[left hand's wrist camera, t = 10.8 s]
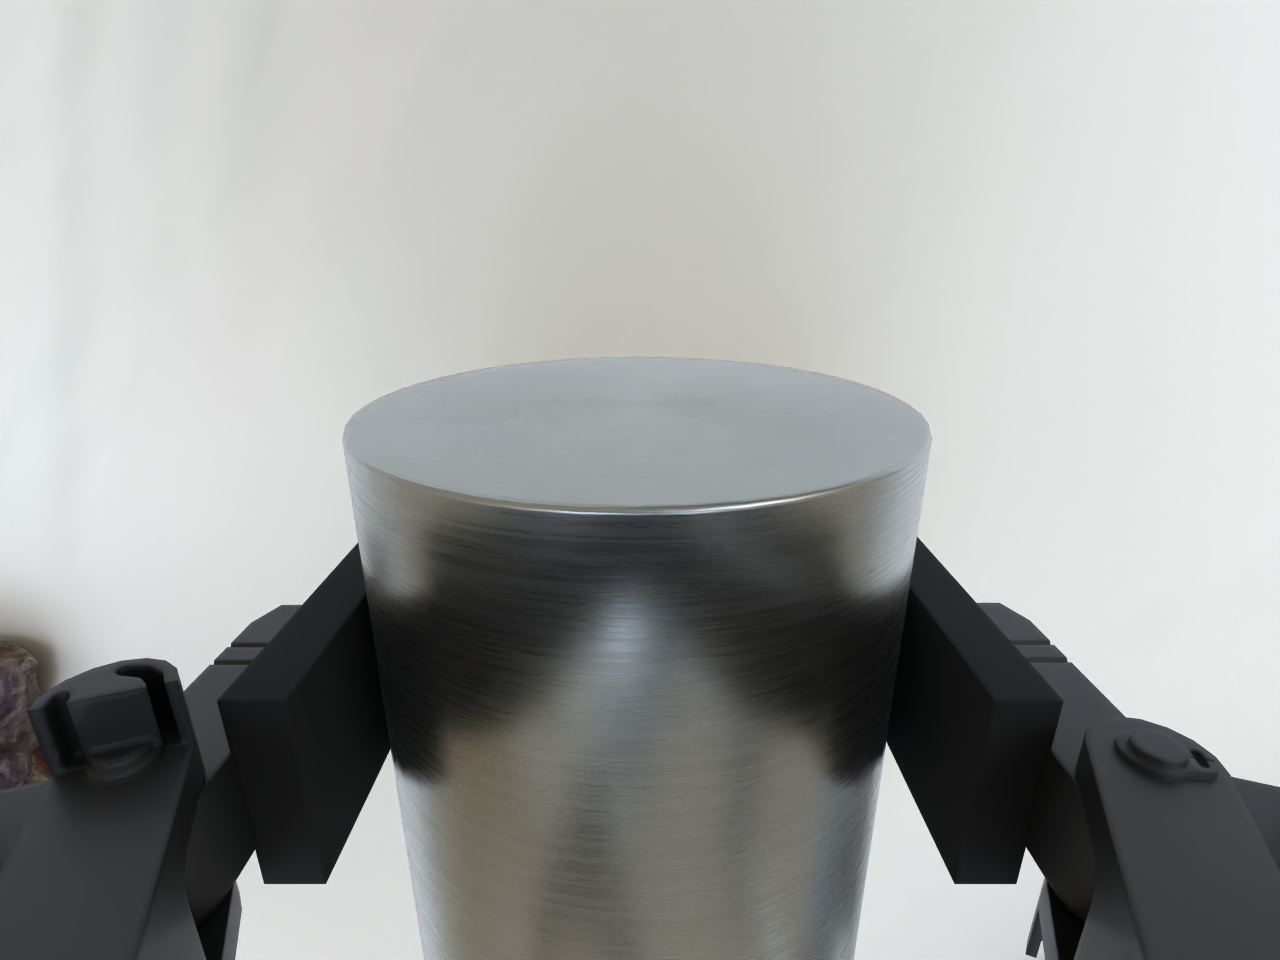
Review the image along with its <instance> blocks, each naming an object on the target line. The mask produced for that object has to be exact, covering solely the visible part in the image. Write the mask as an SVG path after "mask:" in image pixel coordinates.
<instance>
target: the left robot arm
mask: <svg viewBox="0 0 1280 960" xmlns="http://www.w3.org/2000/svg"><path fill="white" fill-rule="evenodd" d="M27 714H28V716H29V719H30V722H31V724H32V727H33V730H34V732H35V735H36V738H37V740H38V743H39V745H40V748H41V751H42V753H43V756H44V759H45V761H46V764H47V767H48V769H49V772H50V777H49V779H48V780H47V781H42V782H38V783H33V784H28V785H24V786H19V787H14V788H10V789H5V790H0V960H235V955H236V948H237V941H238V933H239V926H240V919H241V911H242V907H241V900H240V893H239V890H238V886H237V882H236V879H237V878H238V876H239V875H240V873H241V871H242V870H243V868H244V866H245V865H246V863H247V862H248V860H249V858H250V857H251V855H252V854H253V852H254V850H256V854H257V858H258V862H259V865H260V869H261V873H262V877H263V881H264V884H326V883H327V880H328V878H329V876H330V874H331V872H332V870H333V868H334V866H335V864H336V862H337V860H338V857H339V855H340V853H341V851H342V849H343V847H344V845H345V843H346V841H347V839H348V837H349V834H350V832H351V830H352V828H353V826H354V824H355V822H356V820H357V818H358V816H359V814H360V811H361V809H362V807H363V805H364V803H365V801H366V799H367V797H368V795H369V793H370V791H371V788H372V786H373V784H374V782H375V780H376V778H377V776H378V774H379V772H380V770H381V768H382V765H383V763H384V761H385V759H386V757H387V755H388V753H389V751H390V749H391V746H390V740H389V733H388V727H387V721H386V714H385V708H384V702H383V695H382V689H381V683H380V676H379V670H378V664H377V657H376V651H375V645H374V638H373V632H372V626H371V619H370V613H369V606H368V600H367V594H366V587H365V581H364V575H363V568H362V562H361V556H360V549H359V543H357V544H356V546H355V547H354V548H353V549H352V550H351V551H350V552H349V553H348V555H347V556H346V557H345V558H344V559H343V560H342V561H341V562H340V563H339V565H338V566H337V567H336V568H335V569H334V570H333V571H332V572H331V574H330V575H329V576H328V577H327V578H326V579H325V580H324V581H323V582H322V584H321V585H320V586H319V587H318V588H317V589H316V590H315V591H314V593H313V594H312V595H311V596H310V597H309V598H308V599H307V600H306V601H305V603H304V604H303V605H281V606H279V607H278V608H276V609H274V610H272V611H271V612H269V613H267V614H266V615H264V616H262V617H260V618H259V619H257V620H255V621H254V622H252V623H251V624H250V625H249V626H248V627H247V628H246V629H245V630H244V631H243V632H242V633H241V634H240V635H239V636H238V637H237V638H236V639H235V640H234V641H233V642H232V643H231V647H227V648H226V649H225V650H224V651H223V652H222V653H221V654H220V655H219V656H218V657H217V658H216V659H215V660H214V665H209V666H208V667H207V668H206V669H205V670H204V671H203V672H202V673H201V675H200V676H199V677H198V678H197V679H196V680H195V681H194V682H193V683H192V684H191V685H190V686H189V687H188V688H187V689H186V690H185V691H184V692H183V688H182V685H181V681H180V678H179V674H178V670H177V668H176V667H174V666H173V665H171V664H170V663H169V662H167V661H164V660H157V659H149V658H143V659H134V660H124V661H119V662H115V663H112V664H108V665H104V666H100V667H97V668H93V669H91V670H88V671H86V672H84V673H81V674H79V675H77V676H74V677H72V678H70V679H67V680H65V681H64V682H62V683H60V684H59V685H57V686H56V687H54V688H53V689H51V690H49V691H48V692H46V693H45V694H43V695H42V696H41V697H40V698H39V699H38V700H37V701H36V702H35V703H34V704H33V705H32V706H31V707H30V708H29V709H28V710H27ZM886 741H887V744H888V746H889V748H890V750H891V752H892V754H893V756H894V758H895V760H896V762H897V764H898V767H899V769H900V771H901V773H902V775H903V777H904V779H905V781H906V783H907V785H908V787H909V790H910V792H911V794H912V796H913V798H914V800H915V802H916V804H917V806H918V808H919V810H920V813H921V815H922V817H923V819H924V821H925V823H926V825H927V827H928V829H929V831H930V833H931V836H932V838H933V840H934V842H935V844H936V846H937V848H938V850H939V852H940V854H941V856H942V859H943V861H944V863H945V865H946V867H947V869H948V871H949V873H950V875H951V877H952V879H953V882H954V884H1016V883H1017V879H1018V875H1019V871H1020V868H1021V864H1022V860H1023V856H1024V852H1025V848H1026V847H1027V849H1028V851H1029V852H1030V854H1031V855H1032V857H1033V859H1034V860H1035V862H1036V864H1037V865H1038V867H1039V868H1040V870H1041V872H1042V873H1043V875H1044V876H1045V879H1044V882H1043V886H1042V890H1041V893H1040V897H1039V900H1038V904H1037V908H1036V911H1035V915H1034V918H1033V922H1032V926H1031V929H1030V933H1029V936H1028V941H1027V948H1026V955H1029V956H1032V957H1035V958H1036V957H1037V953H1038V950H1039V946H1040V943H1041V941H1042V940H1043V946H1044V953H1045V960H1280V787H1276V786H1272V785H1267V784H1262V783H1258V782H1253V781H1248V780H1243V779H1239V778H1234V777H1231V776H1230V774H1229V773H1228V772H1227V770H1226V769H1225V768H1224V767H1223V765H1222V764H1221V763H1220V762H1219V760H1218V759H1217V758H1216V757H1215V756H1214V755H1212V754H1211V753H1210V752H1208V751H1207V750H1206V749H1204V748H1203V747H1202V746H1200V745H1199V744H1198V743H1196V742H1195V741H1193V740H1191V739H1189V738H1187V737H1185V736H1183V735H1181V734H1179V733H1177V732H1175V731H1173V730H1171V729H1169V728H1167V727H1164V726H1161V725H1157V724H1154V723H1151V722H1148V721H1144V720H1141V719H1134V718H1126V717H1125V716H1124V715H1123V714H1122V713H1121V712H1120V711H1119V710H1118V709H1117V708H1116V707H1115V706H1114V705H1113V704H1112V703H1111V702H1110V701H1109V700H1108V699H1107V698H1106V697H1105V696H1104V695H1103V694H1102V693H1101V692H1100V691H1099V690H1098V689H1097V688H1096V687H1095V686H1094V685H1093V684H1092V683H1091V682H1090V681H1089V680H1088V679H1087V678H1086V677H1085V676H1084V675H1083V674H1082V673H1081V672H1080V671H1079V670H1078V669H1077V668H1076V667H1075V666H1074V665H1073V664H1072V663H1068V662H1067V658H1066V657H1065V656H1064V655H1063V654H1062V653H1061V652H1060V651H1059V650H1058V648H1057V647H1056V646H1055V645H1050V640H1049V639H1048V638H1047V637H1046V636H1045V635H1044V634H1043V633H1042V632H1041V631H1040V630H1039V629H1038V628H1037V627H1036V626H1035V625H1034V624H1033V623H1032V622H1031V621H1030V620H1028V619H1026V618H1025V617H1023V616H1021V615H1019V614H1018V613H1016V612H1014V611H1012V610H1011V609H1009V608H1007V607H1006V606H1004V605H1002V604H1000V603H976V602H975V601H974V600H973V599H972V598H971V596H970V595H969V594H968V593H967V592H966V591H965V590H964V589H963V587H962V586H961V585H960V584H959V583H958V582H957V581H956V580H955V579H954V577H953V576H952V575H951V574H950V573H949V572H948V571H947V570H946V568H945V567H944V566H943V565H942V564H941V563H940V562H939V561H938V560H937V558H936V557H935V556H934V555H933V554H932V553H931V552H930V551H929V549H928V548H927V547H926V546H925V545H924V544H923V543H922V542H921V541H920V539H919V538H918V537H917V539H916V546H915V553H914V559H913V566H912V573H911V579H910V586H909V593H908V599H907V606H906V613H905V619H904V626H903V633H902V639H901V646H900V653H899V659H898V666H897V673H896V679H895V686H894V693H893V699H892V706H891V713H890V719H889V726H888V733H887V739H886Z"/></svg>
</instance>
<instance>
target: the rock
mask: <svg viewBox="0 0 1280 960" xmlns="http://www.w3.org/2000/svg"><path fill="white" fill-rule="evenodd" d="M38 668H39V665H38V663H37V660H36V658H35V657H34V656H33V655H32V654H31V652H30V651H28V650H26V649H23V648H21V647H20V646H19V645H18V644H16V643H11V642H6V641H0V790H5V789H10V788H14V787H19V786H24V785H28V784H33V783H38V782H42V781H47V780H48V779H49V777H50V772H49V769H48V767H47V764H46V761H45V759H44V756H43V753H42V751H41V750H39V749H38V748H39V746H40V745H39V743H38V740H37V738H36V735H35V732H34V730H33V727H32V724H31V722H30V719H29V716H28V714H27V710H28V709H29V708H30V707H31V706H32V705H33V704H34V703H35V702H36V701H37V700H38V699H39V698H40V697H41V691H40V689H39V686H38V683H37V680H36V677H37V673H38Z"/></svg>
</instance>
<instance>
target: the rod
mask: <svg viewBox="0 0 1280 960" xmlns="http://www.w3.org/2000/svg"><path fill="white" fill-rule="evenodd" d="M931 440H932V437H931V433H930V428H929V425H928V423H927V421H926V420H925V419H924V417H923V416H922V414H921V413H919V412H918V411H917V410H916V409H914V408H913V407H912V406H910V405H909V404H907V403H905V402H904V401H902V400H900V399H898V398H896V397H894V396H892V395H889V394H887V393H885V392H882V391H880V390H877V389H875V388H872V387H869V386H866V385H863V384H860V383H857V382H853V381H850V380H846V379H842V378H838V377H834V376H830V375H825V374H820V373H816V372H811V371H805V370H799V369H793V368H787V367H780V366H773V365H765V364H756V363H747V362H737V361H725V360H712V359H694V358H667V357H612V358H586V359H569V360H555V361H543V362H533V363H524V364H515V365H507V366H500V367H493V368H486V369H480V370H475V371H469V372H463V373H459V374H454V375H449V376H445V377H440V378H437V379H433V380H429V381H425V382H421V383H418V384H415V385H412V386H409V387H406V388H403V389H400V390H398V391H395V392H393V393H390V394H388V395H385V396H383V397H381V398H379V399H377V400H375V401H373V402H371V403H370V404H368V405H366V406H364V407H363V408H362V409H360V410H359V411H358V412H357V413H355V414H354V415H353V416H352V417H351V419H350V420H349V421H348V423H347V424H346V426H345V430H344V434H343V438H342V441H343V448H344V454H345V460H346V467H347V473H348V479H349V486H350V492H351V499H352V505H353V511H354V518H355V524H356V530H357V537H358V543H359V549H360V556H361V562H362V568H363V575H364V581H365V587H366V594H367V600H368V606H369V613H370V619H371V626H372V632H373V638H374V645H375V651H376V657H377V664H378V670H379V676H380V683H381V689H382V695H383V702H384V708H385V714H386V721H387V727H388V733H389V740H390V746H391V752H392V759H393V765H394V772H395V778H396V784H397V791H398V797H399V803H400V810H401V816H402V822H403V829H404V835H405V841H406V848H407V854H408V860H409V867H410V873H411V879H412V886H413V892H414V899H415V905H416V911H417V918H418V924H419V930H420V937H421V943H422V949H423V956H424V960H853V959H854V953H855V946H856V939H857V933H858V926H859V919H860V913H861V906H862V899H863V893H864V886H865V879H866V873H867V866H868V859H869V853H870V846H871V839H872V833H873V826H874V819H875V813H876V806H877V799H878V793H879V786H880V779H881V773H882V766H883V759H884V753H885V746H886V739H887V733H888V726H889V719H890V713H891V706H892V699H893V693H894V686H895V679H896V673H897V666H898V659H899V653H900V646H901V639H902V633H903V626H904V619H905V613H906V606H907V599H908V593H909V586H910V579H911V573H912V566H913V559H914V553H915V546H916V539H917V533H918V526H919V519H920V513H921V506H922V499H923V493H924V486H925V479H926V473H927V466H928V459H929V453H930V446H931Z"/></svg>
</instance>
